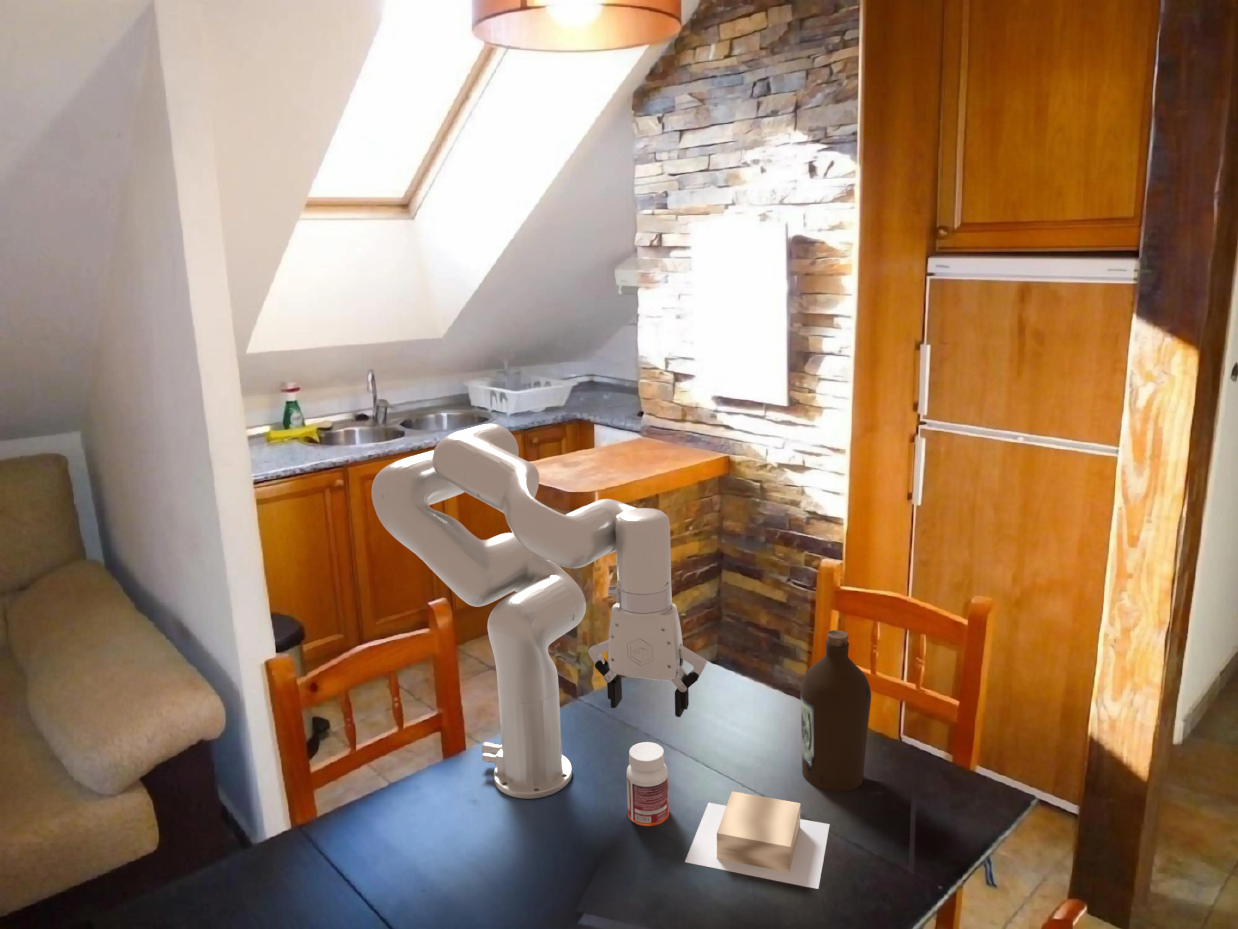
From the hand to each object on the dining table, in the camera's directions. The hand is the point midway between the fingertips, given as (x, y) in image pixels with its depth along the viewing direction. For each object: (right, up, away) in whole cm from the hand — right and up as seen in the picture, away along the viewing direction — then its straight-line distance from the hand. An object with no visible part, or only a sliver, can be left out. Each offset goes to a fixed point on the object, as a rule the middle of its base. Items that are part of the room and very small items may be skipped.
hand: (648, 708), depth 129 cm
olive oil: (+30, -15, +13) cm, 36 cm away
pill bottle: (0, -18, +5) cm, 19 cm away
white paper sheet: (+16, -19, -3) cm, 25 cm away
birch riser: (+16, -18, -3) cm, 24 cm away
